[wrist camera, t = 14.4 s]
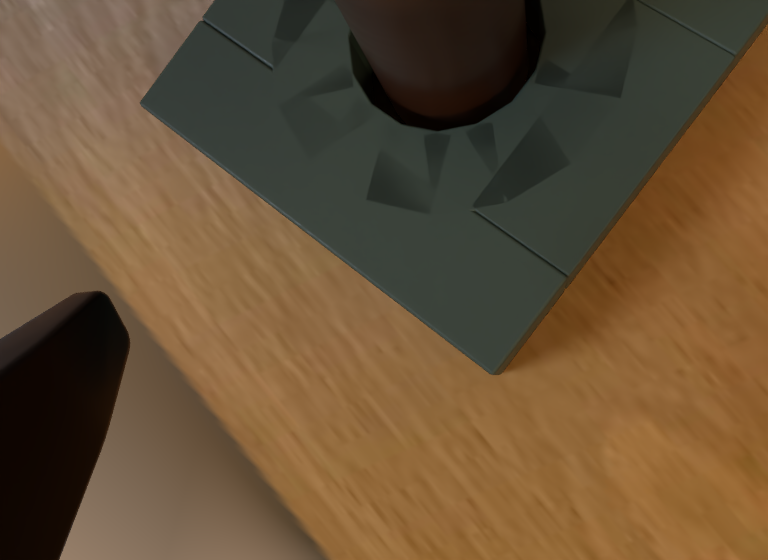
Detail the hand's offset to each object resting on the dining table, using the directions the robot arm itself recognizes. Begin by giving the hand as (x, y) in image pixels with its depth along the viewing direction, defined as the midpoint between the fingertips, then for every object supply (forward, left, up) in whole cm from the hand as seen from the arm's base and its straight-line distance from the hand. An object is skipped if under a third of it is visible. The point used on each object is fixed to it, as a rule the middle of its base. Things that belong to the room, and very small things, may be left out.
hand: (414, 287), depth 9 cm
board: (+5, +5, -10) cm, 12 cm away
